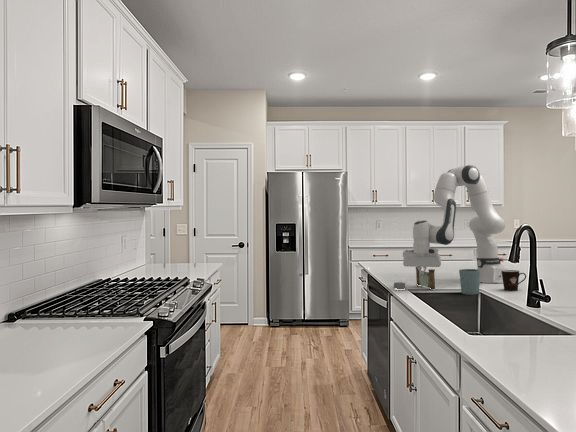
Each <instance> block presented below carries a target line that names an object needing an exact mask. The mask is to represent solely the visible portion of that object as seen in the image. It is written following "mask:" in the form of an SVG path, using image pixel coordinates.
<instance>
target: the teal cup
mask: <svg viewBox="0 0 576 432" xmlns="http://www.w3.org/2000/svg"><path fill="white" fill-rule="evenodd" d="M458 272H459V283H460V292H461V294H463V295H466V296H467V295H469V296H470V295H471V296H472V295H474V296H475V295H479V294H480V283H481V282H480V270H478V268H477V269H475V268H463V269H461V268H460V269H459V270H458Z"/></svg>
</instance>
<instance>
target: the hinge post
mask: <svg viewBox="0 0 576 432" xmlns="http://www.w3.org/2000/svg"><path fill="white" fill-rule="evenodd" d="M422 268H423V267H421V268H420V270H421V271H422ZM415 272H416V273H415V275H416V285H417V284H418V285H419V270H418V267H415Z"/></svg>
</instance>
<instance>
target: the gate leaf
mask: <svg viewBox="0 0 576 432" xmlns="http://www.w3.org/2000/svg"><path fill="white" fill-rule="evenodd" d="M419 285H422V286H423V287H426V288H430V286H429V271H425V275H420V272H419ZM422 286H421V287H422Z"/></svg>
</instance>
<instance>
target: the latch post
mask: <svg viewBox="0 0 576 432" xmlns="http://www.w3.org/2000/svg"><path fill="white" fill-rule="evenodd" d="M427 272H429V286H430V287H429V289H430V288H431V289H435V290H436V284H435V283H436V282H435V281H436V280H435V272H436V269H432V268H429V269H428V271H427Z"/></svg>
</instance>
